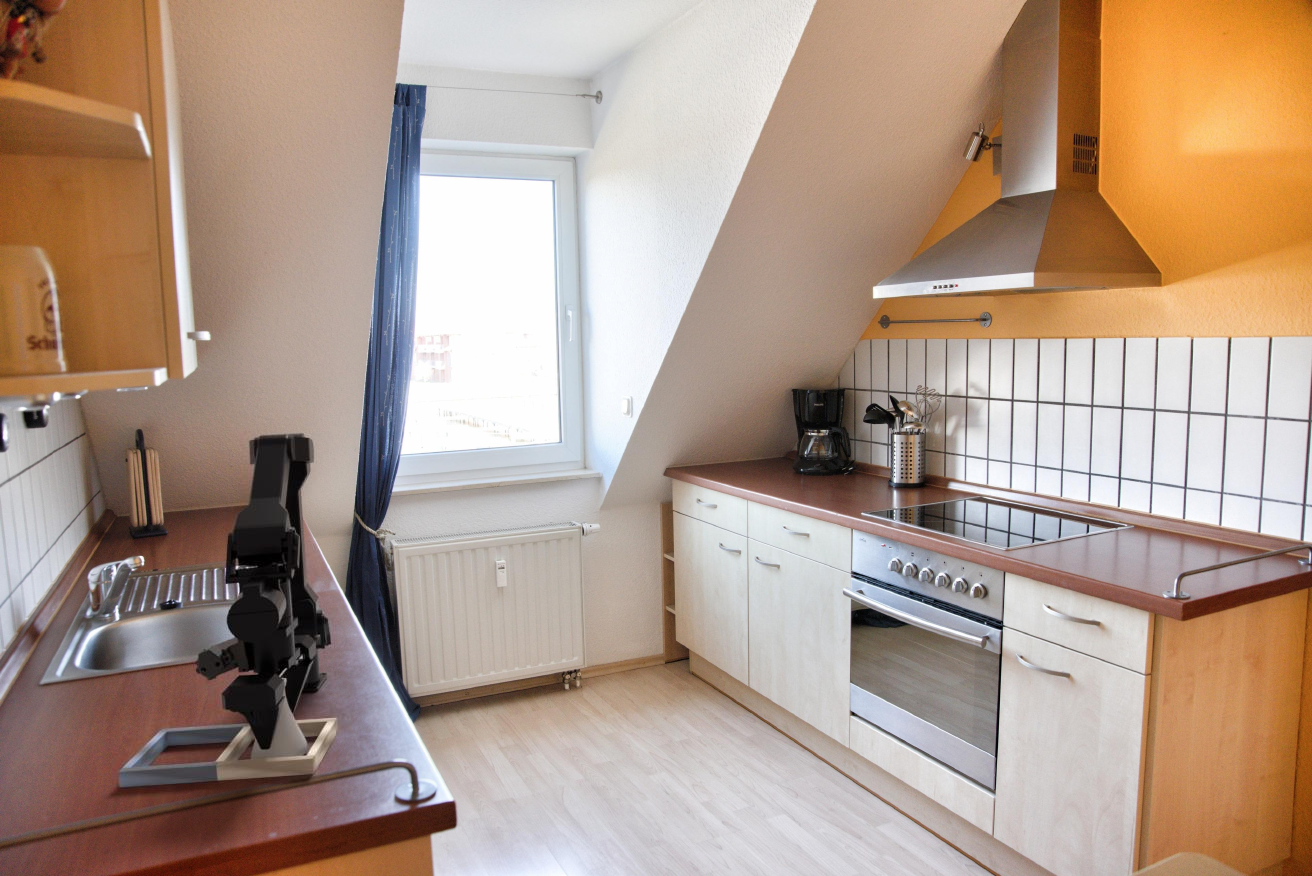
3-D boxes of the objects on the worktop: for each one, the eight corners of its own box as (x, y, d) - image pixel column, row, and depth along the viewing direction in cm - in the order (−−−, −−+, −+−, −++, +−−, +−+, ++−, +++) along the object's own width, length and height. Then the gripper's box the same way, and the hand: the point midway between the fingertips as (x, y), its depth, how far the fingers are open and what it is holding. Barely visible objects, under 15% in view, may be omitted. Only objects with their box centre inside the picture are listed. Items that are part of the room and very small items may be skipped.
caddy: (163, 743, 121) (162, 728, 121) (337, 731, 123) (336, 717, 123) (119, 787, 109) (118, 772, 109) (313, 774, 111) (312, 758, 111)
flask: (316, 741, 120) (311, 670, 119) (297, 767, 113) (291, 692, 112) (262, 743, 120) (256, 672, 119) (239, 770, 113) (232, 694, 112)
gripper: (230, 598, 123) (238, 707, 125) (170, 645, 104) (182, 772, 106) (313, 594, 124) (321, 702, 126) (269, 640, 106) (279, 765, 107)
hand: (277, 732), depth 116 cm, fingers open, 9 cm apart
